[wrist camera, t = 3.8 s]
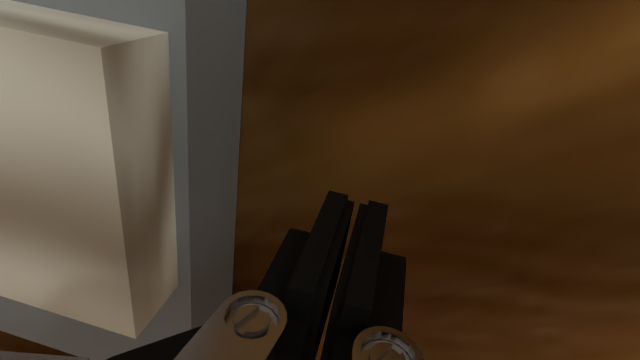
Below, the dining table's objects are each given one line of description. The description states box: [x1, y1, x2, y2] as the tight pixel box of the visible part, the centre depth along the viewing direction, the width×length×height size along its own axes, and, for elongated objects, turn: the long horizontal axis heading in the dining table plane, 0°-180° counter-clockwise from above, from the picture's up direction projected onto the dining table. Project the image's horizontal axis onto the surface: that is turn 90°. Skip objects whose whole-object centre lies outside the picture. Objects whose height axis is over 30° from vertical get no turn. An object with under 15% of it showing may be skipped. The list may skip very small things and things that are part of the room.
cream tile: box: [0, 0, 178, 339], centre depth 12 cm, size 9×6×2 cm, turn 172°
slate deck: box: [0, 0, 247, 360], centre depth 15 cm, size 22×12×4 cm, turn 172°
